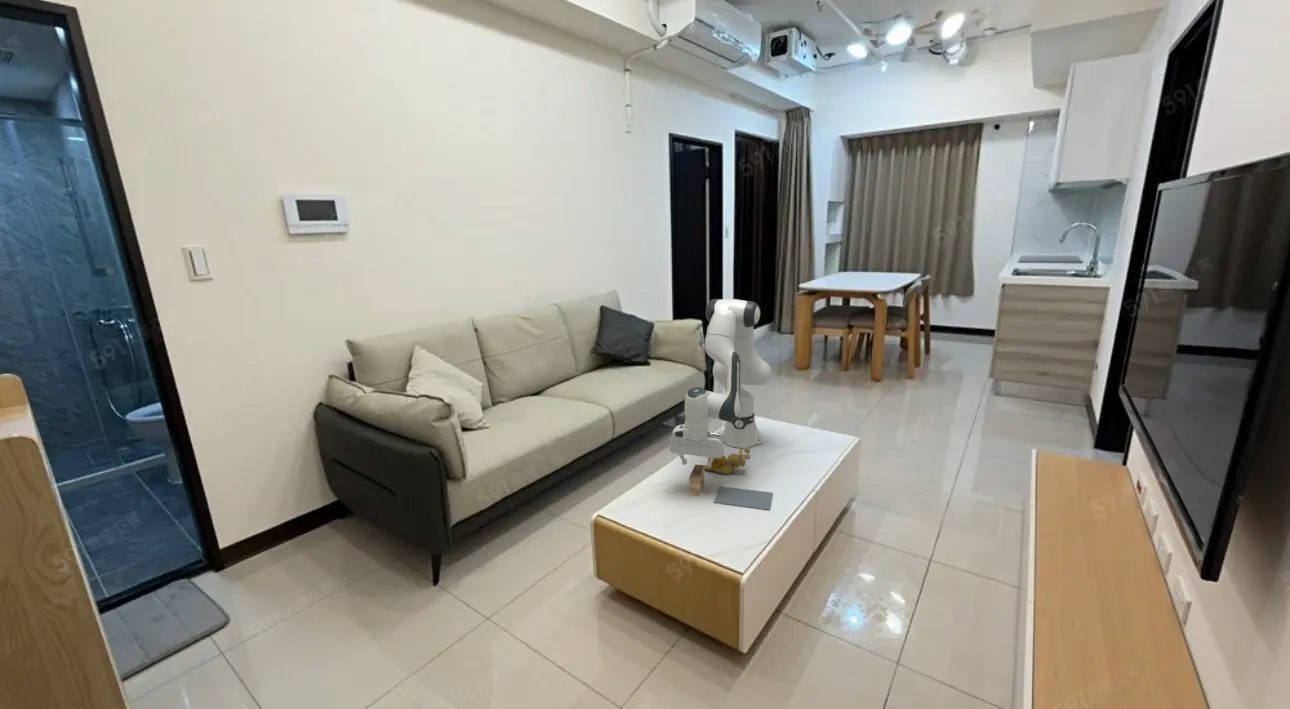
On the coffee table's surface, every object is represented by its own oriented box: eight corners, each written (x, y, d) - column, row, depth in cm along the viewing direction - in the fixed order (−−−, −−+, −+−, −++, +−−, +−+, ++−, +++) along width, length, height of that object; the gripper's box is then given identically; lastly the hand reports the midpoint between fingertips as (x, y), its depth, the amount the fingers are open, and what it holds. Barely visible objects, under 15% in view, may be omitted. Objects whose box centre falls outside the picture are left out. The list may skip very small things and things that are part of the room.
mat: (719, 486, 204) (719, 486, 204) (772, 493, 198) (772, 492, 198) (713, 503, 193) (713, 502, 193) (769, 510, 187) (769, 509, 187)
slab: (695, 482, 208) (695, 464, 206) (704, 483, 207) (704, 465, 205) (689, 495, 199) (689, 476, 196) (698, 496, 197) (698, 477, 195)
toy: (749, 477, 210) (750, 454, 207) (696, 474, 214) (696, 451, 212) (750, 468, 217) (750, 446, 215) (699, 465, 222) (698, 443, 219)
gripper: (725, 430, 196) (725, 464, 199) (672, 425, 202) (673, 458, 205) (723, 437, 190) (722, 472, 193) (668, 431, 196) (668, 466, 200)
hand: (696, 465), depth 199 cm, fingers open, 8 cm apart
